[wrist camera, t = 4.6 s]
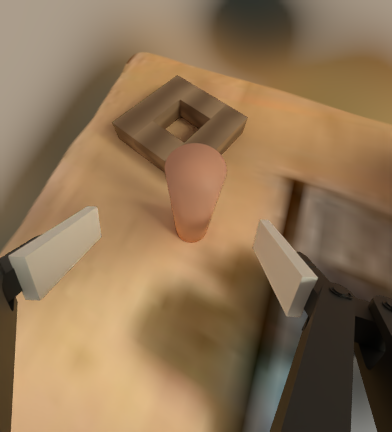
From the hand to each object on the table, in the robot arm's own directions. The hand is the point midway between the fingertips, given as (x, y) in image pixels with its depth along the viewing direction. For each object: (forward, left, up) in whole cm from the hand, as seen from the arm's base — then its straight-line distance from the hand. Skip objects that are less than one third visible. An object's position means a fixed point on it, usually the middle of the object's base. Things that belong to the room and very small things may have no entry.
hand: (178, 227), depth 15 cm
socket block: (+12, -14, -8) cm, 20 cm away
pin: (+1, -3, -8) cm, 9 cm away
